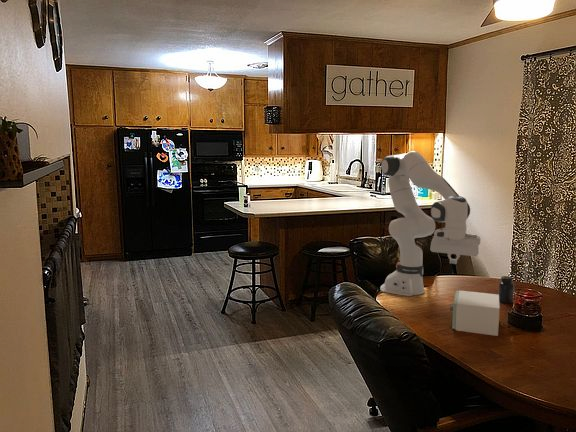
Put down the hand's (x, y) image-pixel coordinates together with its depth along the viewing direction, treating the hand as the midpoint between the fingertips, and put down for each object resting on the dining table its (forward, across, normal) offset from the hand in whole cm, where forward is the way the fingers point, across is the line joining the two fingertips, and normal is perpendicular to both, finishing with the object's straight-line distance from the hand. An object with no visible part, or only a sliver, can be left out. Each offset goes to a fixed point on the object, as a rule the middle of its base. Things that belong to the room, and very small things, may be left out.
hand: (453, 263), depth 209 cm
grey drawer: (+22, -9, +11) cm, 26 cm away
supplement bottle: (+24, -23, -25) cm, 42 cm away
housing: (+23, -12, +11) cm, 28 cm away
